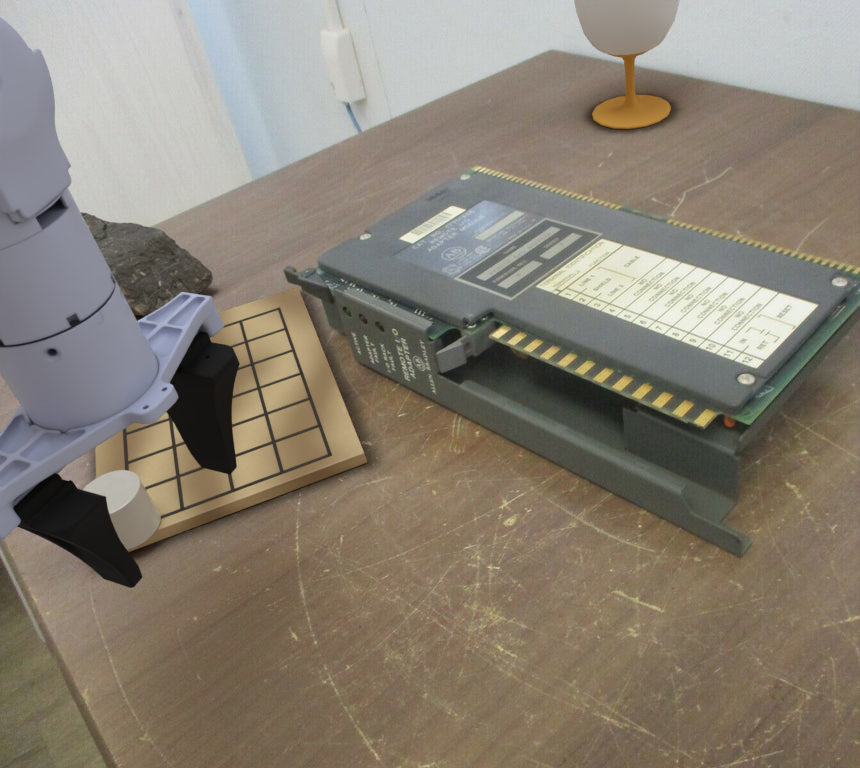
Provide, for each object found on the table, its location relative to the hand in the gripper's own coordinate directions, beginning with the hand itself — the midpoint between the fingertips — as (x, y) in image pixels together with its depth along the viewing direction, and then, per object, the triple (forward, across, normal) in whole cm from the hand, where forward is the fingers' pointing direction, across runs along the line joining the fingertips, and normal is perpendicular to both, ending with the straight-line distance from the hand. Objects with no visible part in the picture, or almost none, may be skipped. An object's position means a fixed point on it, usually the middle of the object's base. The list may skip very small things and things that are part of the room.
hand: (174, 519), depth 43 cm
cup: (+10, +72, -3) cm, 73 cm away
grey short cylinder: (+8, +3, +11) cm, 14 cm away
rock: (+10, +27, +32) cm, 43 cm away
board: (+9, +16, +14) cm, 23 cm away
